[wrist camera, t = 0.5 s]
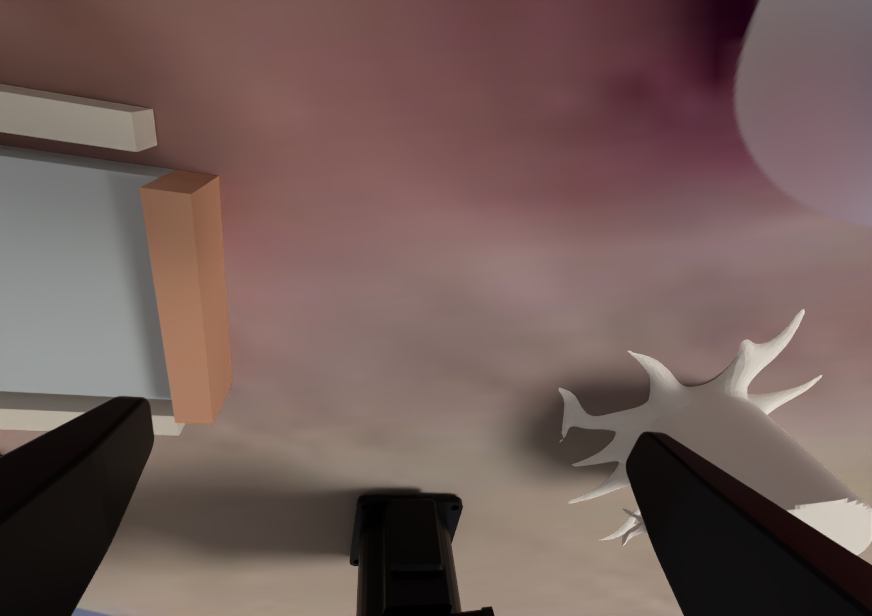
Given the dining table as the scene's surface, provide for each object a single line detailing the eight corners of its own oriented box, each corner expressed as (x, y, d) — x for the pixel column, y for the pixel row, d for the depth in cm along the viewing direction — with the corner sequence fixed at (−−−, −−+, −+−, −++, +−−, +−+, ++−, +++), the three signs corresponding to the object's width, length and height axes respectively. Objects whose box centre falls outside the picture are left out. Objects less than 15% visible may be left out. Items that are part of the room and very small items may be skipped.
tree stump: (546, 314, 21) (628, 433, 14) (892, 282, 23) (1118, 375, 16) (521, 548, 31) (562, 687, 24) (765, 514, 33) (870, 635, 26)
